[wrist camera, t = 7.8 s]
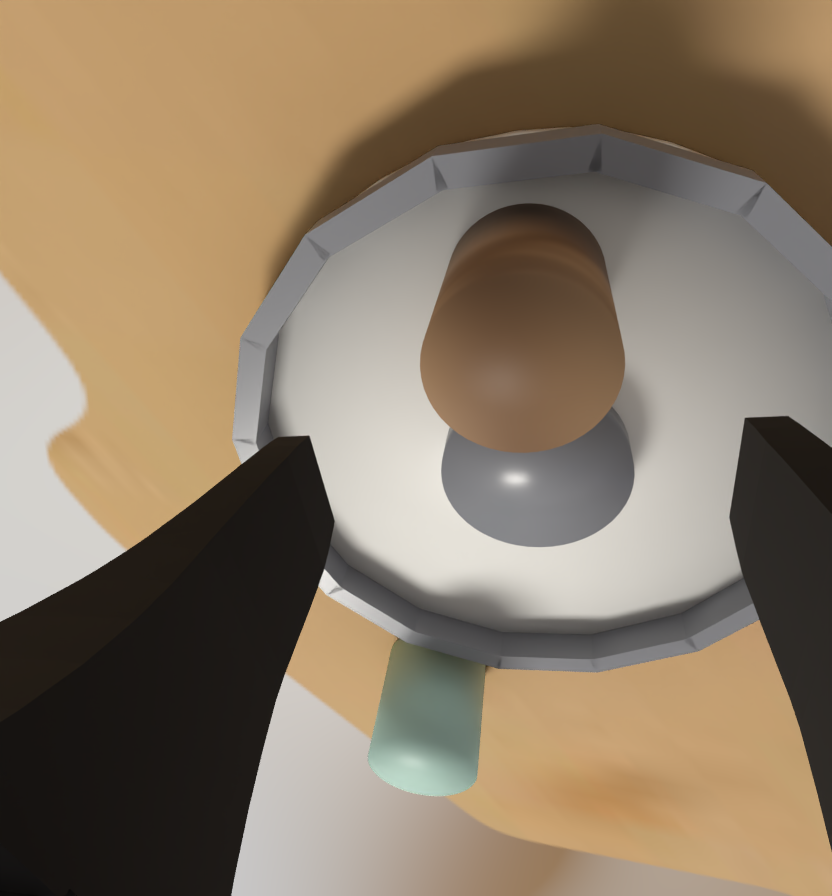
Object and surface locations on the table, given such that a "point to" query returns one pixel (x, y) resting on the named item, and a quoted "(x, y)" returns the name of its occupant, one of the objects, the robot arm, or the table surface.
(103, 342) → the table surface
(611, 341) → the walnut bead
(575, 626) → the groove tray
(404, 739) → the mint green cylinder
